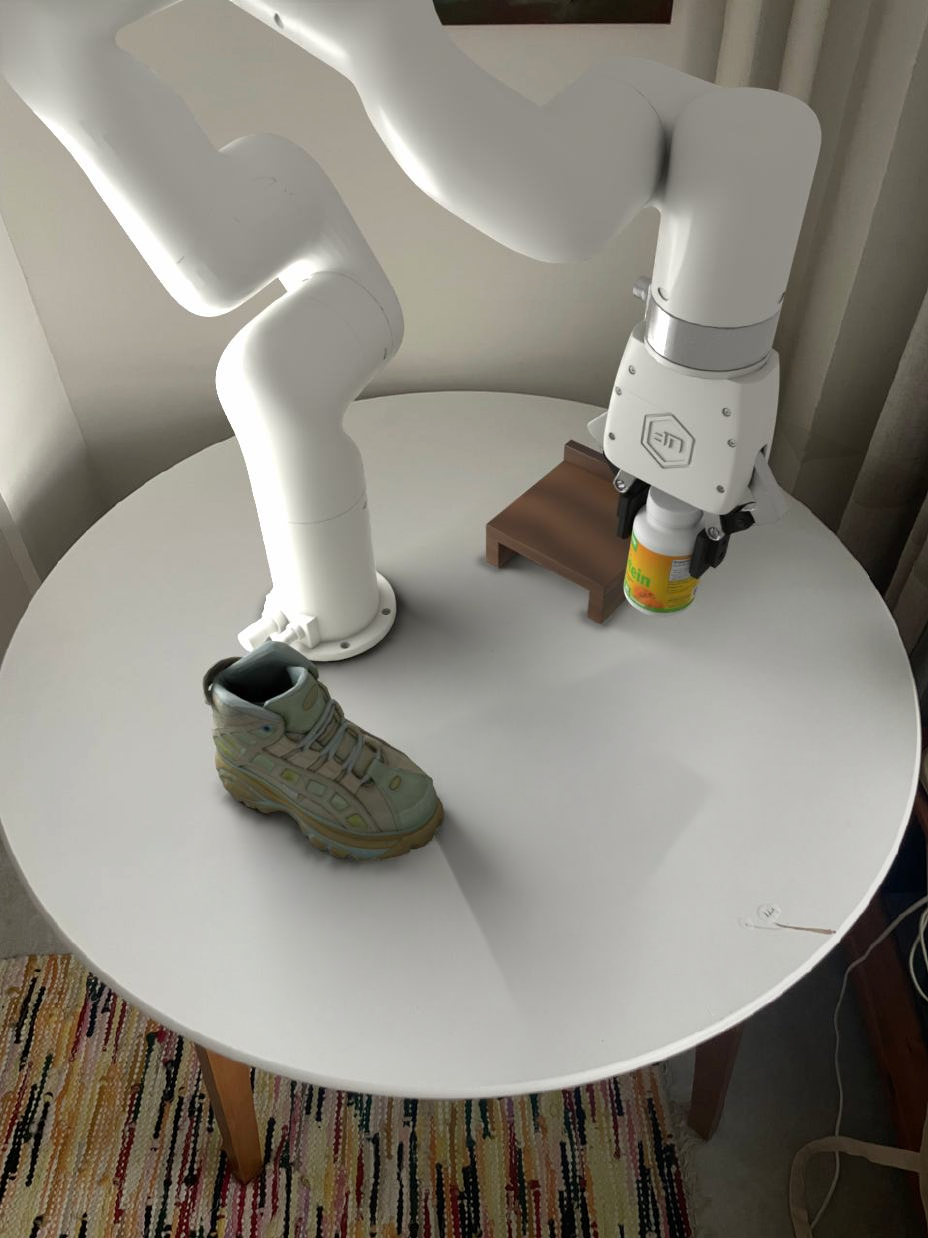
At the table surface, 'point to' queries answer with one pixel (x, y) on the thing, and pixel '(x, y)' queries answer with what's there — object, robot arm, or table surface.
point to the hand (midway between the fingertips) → (667, 545)
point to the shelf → (569, 528)
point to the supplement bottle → (662, 555)
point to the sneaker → (314, 759)
